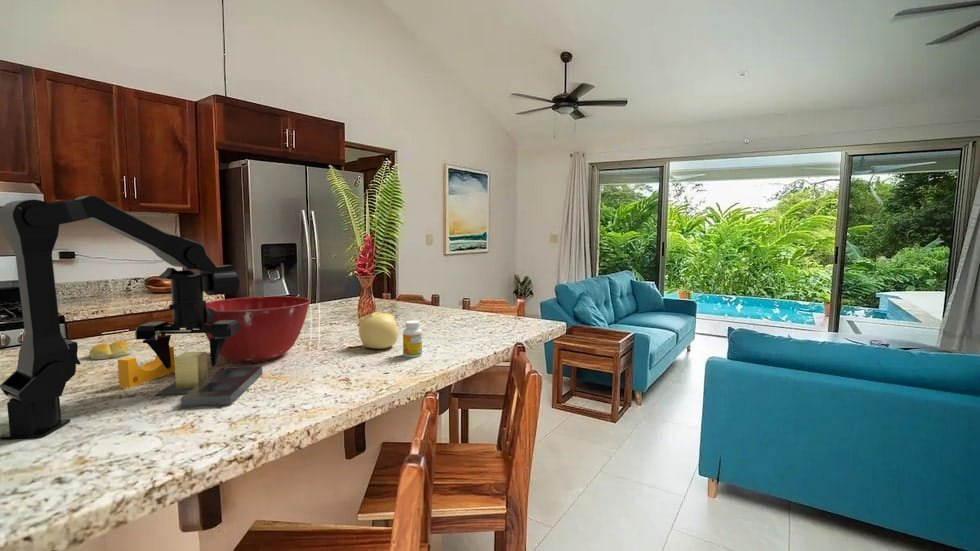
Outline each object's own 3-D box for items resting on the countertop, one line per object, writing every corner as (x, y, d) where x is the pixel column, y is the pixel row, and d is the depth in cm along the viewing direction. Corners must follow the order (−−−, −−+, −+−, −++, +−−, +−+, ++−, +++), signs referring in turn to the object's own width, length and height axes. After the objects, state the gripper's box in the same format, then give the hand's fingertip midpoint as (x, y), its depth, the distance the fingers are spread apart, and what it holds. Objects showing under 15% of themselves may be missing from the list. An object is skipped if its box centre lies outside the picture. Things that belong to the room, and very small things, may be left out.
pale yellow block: (198, 387, 98) (197, 356, 97) (176, 388, 97) (174, 357, 96) (207, 381, 102) (206, 351, 101) (186, 382, 101) (184, 352, 101)
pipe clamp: (159, 371, 111) (158, 345, 110) (175, 372, 110) (173, 346, 110) (112, 387, 99) (110, 359, 98) (129, 388, 98) (127, 360, 98)
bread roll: (91, 355, 124) (90, 341, 124) (132, 350, 129) (131, 337, 129) (87, 362, 118) (85, 347, 117) (130, 357, 123) (129, 343, 122)
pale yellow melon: (392, 340, 144) (391, 307, 143) (403, 349, 134) (402, 314, 133) (356, 344, 139) (355, 310, 138) (364, 353, 128) (364, 317, 127)
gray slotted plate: (230, 405, 89) (230, 395, 89) (181, 408, 87) (180, 398, 87) (262, 374, 109) (262, 366, 109) (222, 376, 107) (222, 368, 107)
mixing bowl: (203, 349, 131) (200, 298, 129) (307, 340, 144) (305, 292, 142) (189, 377, 106) (186, 313, 104) (317, 362, 119) (315, 306, 117)
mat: (207, 393, 96) (207, 391, 96) (155, 395, 94) (155, 394, 94) (225, 378, 105) (225, 376, 105) (179, 380, 104) (179, 378, 103)
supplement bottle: (401, 353, 128) (400, 320, 128) (419, 351, 131) (419, 319, 130) (405, 358, 124) (405, 324, 123) (424, 356, 126) (424, 322, 125)
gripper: (246, 292, 107) (249, 355, 109) (160, 293, 104) (164, 359, 105) (228, 299, 96) (231, 369, 98) (131, 301, 93) (136, 373, 94)
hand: (191, 367), depth 99 cm, fingers open, 9 cm apart
